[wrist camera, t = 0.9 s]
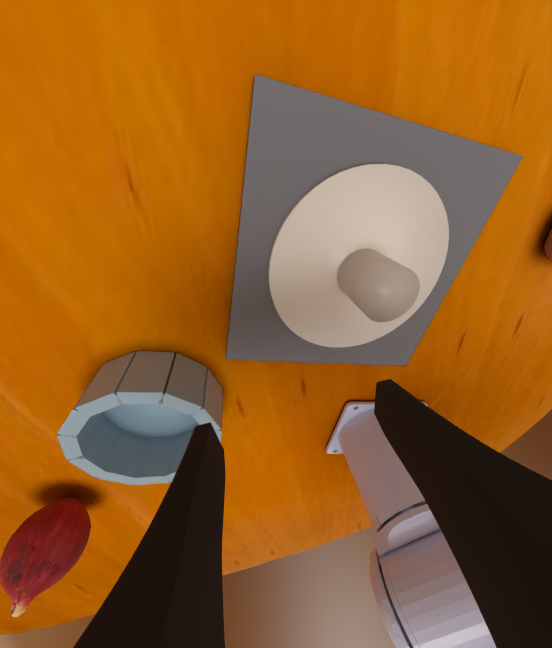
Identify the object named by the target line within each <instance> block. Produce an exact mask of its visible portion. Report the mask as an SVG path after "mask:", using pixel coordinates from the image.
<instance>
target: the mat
mask: <svg viewBox="0 0 552 648" xmlns="http://www.w3.org/2000/svg"><path fill="white" fill-rule="evenodd" d="M522 158H523V156H521V155H517V154H514V153H511V152H508V151H504V150H501V149H498V148H495V147H491V146H488V145H485V144H482V143H478V142H475V141H472V140H468V139H465V138H462V137H459V136H455V135H452V134H449V133H446V132H442V131H439V130H436V129H433V128H429V127H426V126H423V125H420V124H416V123H413V122H410V121H407V120H403V119H400V118H397V117H394V116H390V115H387V114H384V113H380V112H377V111H374V110H371V109H367V108H364V107H361V106H358V105H354V104H351V103H348V102H345V101H341V100H338V99H335V98H332V97H328V96H325V95H322V94H319V93H315V92H312V91H309V90H306V89H302V88H299V87H296V86H293V85H289V84H286V83H283V82H279V81H276V80H273V79H270V78H266V77H263V76H260V75H257V74H255V76H254V83H253V93H252V103H251V113H250V123H249V133H248V143H247V153H246V163H245V173H244V182H243V192H242V202H241V212H240V222H239V232H238V242H237V252H236V262H235V272H234V282H233V292H232V302H231V312H230V322H229V332H228V342H227V352H226V359H231V360H258V361H285V362H312V363H339V364H366V365H393V366H406V365H407V363H408V362H409V360H410V358H411V356H412V354H413V353H414V351H415V349H416V347H417V346H418V344H419V342H420V340H421V338H422V337H423V335H424V333H425V331H426V329H427V328H428V326H429V324H430V322H431V320H432V319H433V317H434V315H435V313H436V312H437V310H438V308H439V306H440V304H441V303H442V301H443V299H444V297H445V295H446V294H447V292H448V290H449V288H450V287H451V285H452V283H453V281H454V279H455V278H456V276H457V274H458V272H459V270H460V269H461V267H462V265H463V263H464V261H465V260H466V258H467V256H468V254H469V253H470V251H471V249H472V247H473V245H474V244H475V242H476V240H477V238H478V236H479V235H480V233H481V231H482V229H483V228H484V226H485V224H486V222H487V220H488V219H489V217H490V215H491V213H492V211H493V210H494V208H495V206H496V204H497V202H498V201H499V199H500V197H501V195H502V194H503V192H504V190H505V188H506V186H507V185H508V183H509V181H510V179H511V177H512V176H513V174H514V172H515V170H516V169H517V167H518V165H519V163H520V161H521V160H522ZM367 164H389V165H396V166H400V167H403V168H406V169H409V170H412V171H413V172H415V173H417V174H418V175H420V176H422V177H423V178H424V179H425V180H426V181H427V182H429V183H430V184H431V185H432V187H433V188H434V189H435V191H436V192H437V193H438V195H439V197H440V199H441V201H442V202H443V205H444V208H445V211H446V214H447V219H448V225H449V242H448V251H447V255H446V259H445V263H444V266H443V269H442V272H441V274H440V276H439V278H438V280H437V283H436V284H435V286H434V288H433V289H432V291H431V293H430V294H429V296H428V297H427V298H426V300H425V301H424V303H423V304H422V305H421V306H420V307H419V308H418V310H417V311H416V312H415V313H414V314H413V315H412V316H411V317H410V318H409V319H407V320H406V321H405V322H404V323H402V324H401V325H400V326H399V327H397V328H396V329H394V330H393V331H391V332H389V333H388V334H386V335H384V336H382V337H380V338H378V339H376V340H373V341H371V342H368V343H365V344H361V345H357V346H352V347H340V348H334V347H325V346H321V345H316V344H314V343H311V342H308V341H306V340H304V339H303V338H301V337H299V336H298V335H296V334H295V333H294V332H293V331H291V330H290V329H289V328H288V326H287V325H286V324H285V323H284V322H283V320H282V319H281V317H280V316H279V314H278V312H277V310H276V308H275V305H274V302H273V299H272V296H271V293H270V287H269V278H268V269H269V259H270V254H271V250H272V246H273V243H274V240H275V238H276V235H277V233H278V231H279V229H280V227H281V225H282V223H283V221H284V219H285V218H286V216H287V215H288V213H289V212H290V211H291V209H292V208H293V207H294V205H295V204H296V203H297V202H298V201H299V200H300V199H301V197H302V196H304V195H305V194H306V193H307V192H308V191H309V190H310V189H311V188H313V187H314V186H315V185H317V184H318V183H320V182H321V181H323V180H324V179H325V178H327V177H329V176H331V175H333V174H335V173H337V172H339V171H342V170H345V169H348V168H351V167H355V166H361V165H367Z"/></svg>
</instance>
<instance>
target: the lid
mask: <svg viewBox="0 0 552 648" xmlns="http://www.w3.org/2000/svg"><path fill="white" fill-rule="evenodd" d="M448 242H449V225H448V219H447V214H446V211H445V208H444V205H443V202H442V201H441V199H440V197H439V195H438V193H437V192H436V191H435V189H434V188H433V187H432V185H431V184H430V183H429V182H427V181H426V180H425V179H424V178H423V177H422V176H420V175H418V174H417V173H415V172H413V171H412V170H409V169H406V168H403V167H400V166H396V165H389V164H367V165H361V166H355V167H351V168H348V169H345V170H342V171H339V172H337V173H335V174H333V175H331V176H329V177H327V178H325V179H324V180H323V181H321V182H320V183H318V184H317V185H315V186H314V187H313V188H311V189H310V190H309V191H308V192H307V193H306V194H305V195H304V196H302V197H301V199H300V200H299V201H298V202H297V203H296V204H295V205H294V207H293V208H292V209H291V211H290V212H289V213H288V215H287V216H286V218H285V219H284V221H283V223H282V225H281V227H280V229H279V231H278V233H277V235H276V238H275V240H274V243H273V246H272V250H271V254H270V259H269V269H268V278H269V287H270V293H271V296H272V299H273V302H274V305H275V308H276V310H277V312H278V314H279V316H280V317H281V319H282V320H283V322H284V323H285V324H286V325H287V326H288V328H289V329H290V330H291V331H293V332H294V333H295V334H296V335H298V336H299V337H301V338H303V339H304V340H306V341H308V342H311V343H314V344H316V345H321V346H325V347H334V348H340V347H352V346H357V345H361V344H365V343H368V342H371V341H373V340H376V339H378V338H380V337H382V336H384V335H386V334H388V333H389V332H391V331H393V330H394V329H396V328H397V327H399V326H400V325H401V324H402V323H404V322H405V321H406V320H407V319H409V318H410V317H411V316H412V315H413V314H414V313H415V312H416V311H417V310H418V308H419V307H420V306H421V305H422V304H423V303H424V301H425V300H426V298H427V297H428V296H429V294H430V293H431V291H432V289H433V288H434V286H435V284H436V283H437V280H438V278H439V276H440V274H441V272H442V269H443V266H444V263H445V259H446V255H447V251H448Z"/></svg>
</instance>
